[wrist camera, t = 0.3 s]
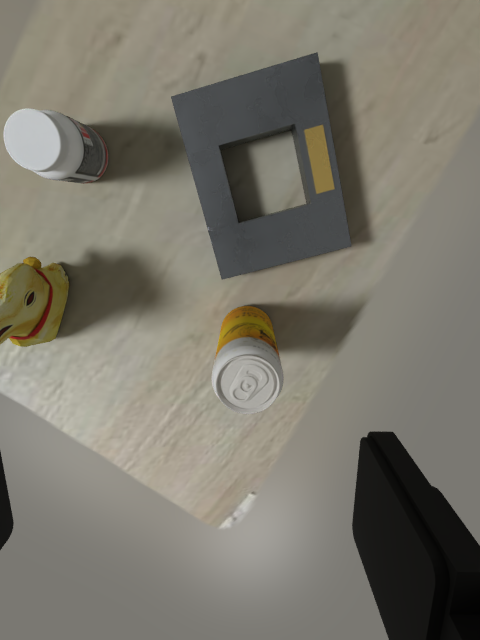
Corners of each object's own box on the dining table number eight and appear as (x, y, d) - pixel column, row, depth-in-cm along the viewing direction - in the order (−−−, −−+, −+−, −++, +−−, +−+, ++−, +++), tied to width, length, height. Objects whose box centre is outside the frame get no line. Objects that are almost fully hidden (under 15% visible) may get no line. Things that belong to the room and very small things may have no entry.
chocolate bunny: (84, 261, 44) (5, 289, 29) (61, 345, 47) (-22, 408, 32) (25, 239, 43) (-85, 256, 29) (6, 325, 46) (-104, 380, 32)
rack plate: (176, 104, 39) (170, 96, 36) (311, 64, 38) (317, 51, 34) (223, 274, 44) (221, 279, 41) (344, 243, 42) (351, 246, 39)
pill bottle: (85, 113, 39) (33, 83, 30) (121, 161, 40) (82, 148, 31) (44, 148, 40) (-18, 130, 31) (81, 194, 41) (32, 191, 32)
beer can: (282, 322, 45) (299, 376, 31) (253, 361, 47) (256, 430, 32) (240, 294, 44) (237, 336, 30) (211, 335, 46) (196, 394, 31)
